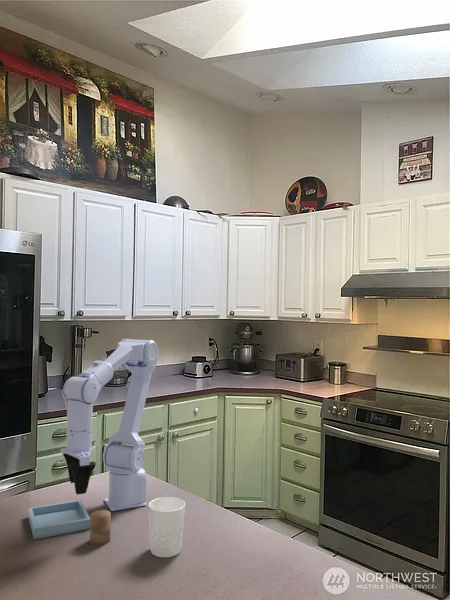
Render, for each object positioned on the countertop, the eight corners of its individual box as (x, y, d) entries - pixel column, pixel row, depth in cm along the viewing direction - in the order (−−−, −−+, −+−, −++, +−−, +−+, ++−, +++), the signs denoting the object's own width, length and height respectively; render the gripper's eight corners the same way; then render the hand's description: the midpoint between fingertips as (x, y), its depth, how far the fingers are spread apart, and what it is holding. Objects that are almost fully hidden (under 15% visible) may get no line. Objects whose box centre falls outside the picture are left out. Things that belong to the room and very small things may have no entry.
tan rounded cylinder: (107, 534, 112) (108, 508, 112) (112, 543, 108) (112, 516, 109) (87, 538, 110) (88, 511, 110) (92, 547, 106) (92, 519, 107)
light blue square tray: (80, 508, 126) (80, 499, 126) (90, 528, 115) (90, 519, 115) (28, 517, 121) (28, 507, 121) (33, 539, 109) (33, 528, 109)
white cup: (189, 545, 108) (190, 500, 109) (174, 562, 101) (175, 513, 101) (157, 538, 111) (158, 494, 111) (140, 555, 103) (142, 508, 104)
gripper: (56, 423, 118) (55, 479, 118) (66, 438, 105) (65, 501, 105) (86, 420, 121) (85, 475, 121) (99, 435, 108) (98, 496, 108)
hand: (77, 487), depth 113 cm, fingers open, 7 cm apart
